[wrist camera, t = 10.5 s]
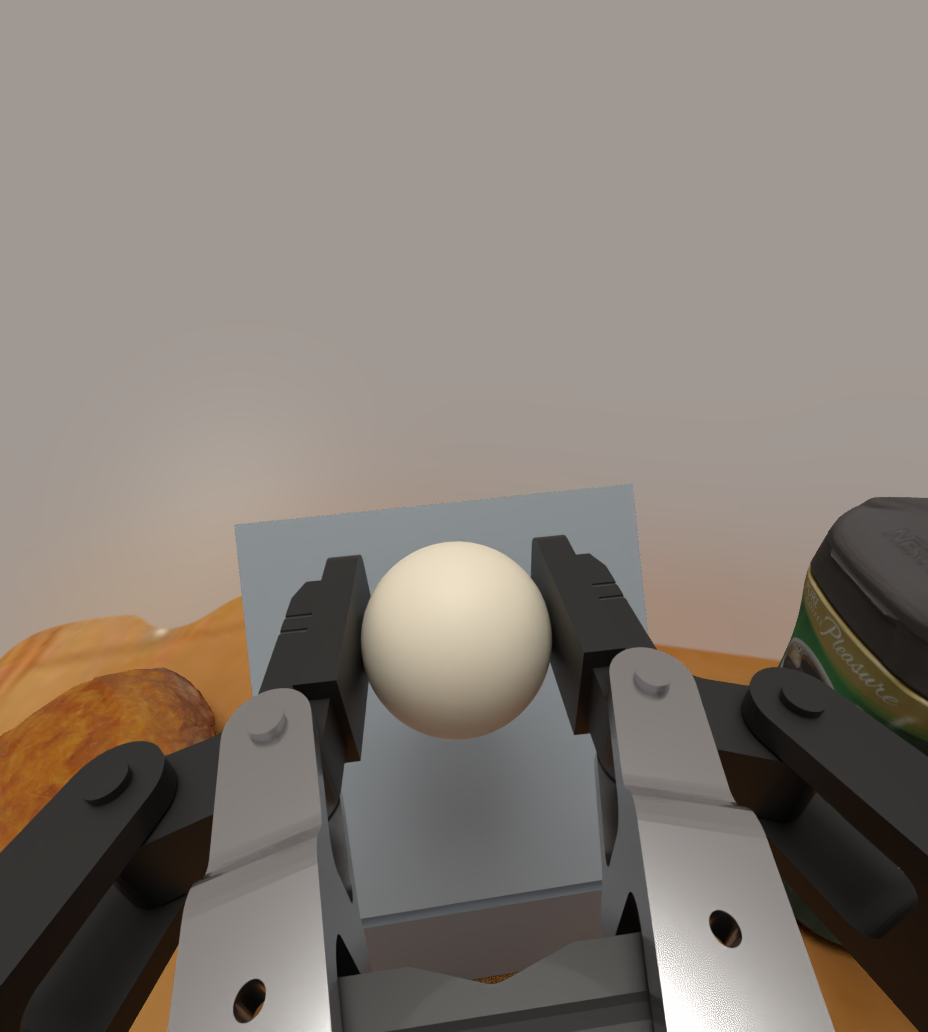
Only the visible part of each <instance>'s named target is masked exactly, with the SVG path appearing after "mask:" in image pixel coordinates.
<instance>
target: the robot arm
mask: <svg viewBox="0 0 928 1032" xmlns="http://www.w3.org/2000/svg"><path fill="white" fill-rule="evenodd" d="M531 579H532V580H533V581H534V583H535V584H536V586H537V587H538V589H539V591H540V592H541V595H542V597H543V599H544V601H545V603H546V607H547V610H548V613H549V617H550V622H551V628H552V652H551V658H550V664H551V667H552V670H553V673H554V676H555V679H556V682H557V685H558V688H559V691H560V694H561V697H562V700H563V703H564V706H565V709H566V712H567V716H568V719H569V722H570V725H571V728H572V731H573V734H574V735H581V734H589V733H590V735H591V738H592V741H593V743H594V746H595V749H596V752H595V758H594V771H595V785H596V798H597V811H598V825H599V838H600V852H601V865H602V898H601V925H602V938H598V939H591V940H584V941H578V942H573V943H571V944H569V945H567V946H565V947H564V948H562V949H560V950H558V951H556V952H555V953H553V954H551V955H549V956H547V957H546V958H544V959H542V960H540V961H538V962H537V963H535V964H533V965H531V966H529V967H528V968H526V969H524V970H522V971H520V972H519V973H517V974H515V975H513V976H512V977H510V978H508V979H506V980H504V981H502V982H500V983H496V984H487V983H482V982H477V981H472V980H468V979H463V978H459V977H454V976H449V975H445V974H440V973H435V972H431V971H426V970H422V969H417V968H412V967H405V968H398V969H391V970H385V971H378V972H372V969H371V963H370V958H369V952H368V947H367V942H366V938H365V933H364V929H363V926H362V921H361V917H360V912H359V906H358V900H357V893H356V886H355V878H354V871H353V864H352V857H351V850H350V843H349V836H348V829H347V822H346V814H345V807H344V800H343V795H342V792H341V787H342V779H343V772H344V764H345V763H350V762H358V761H361V753H362V743H363V733H364V723H365V714H366V704H367V694H368V684H369V680H368V678H367V675H366V672H365V669H364V665H363V659H362V653H361V628H362V622H363V618H364V613H365V610H366V608H367V605H368V602H369V600H370V597H371V595H370V590H369V585H368V581H367V576H366V571H365V566H364V562H363V558H362V556H361V555H350V556H340V557H330V558H328V559H327V561H326V564H325V568H324V571H323V575H322V579H321V580H318V581H309V582H305V583H304V585H303V586H302V587H301V588H300V589H299V590H298V591H297V592H296V593H295V595H294V596H293V597H292V598H291V601H290V604H289V606H288V609H287V612H286V615H285V617H286V618H285V619H284V621H283V624H282V627H281V630H280V635H278V638H277V641H276V644H275V647H274V650H273V653H272V655H271V658H270V661H269V664H268V667H267V670H266V673H265V676H264V679H263V681H262V684H261V687H260V690H259V693H258V695H256V696H254V697H252V698H251V699H249V700H248V701H246V702H245V703H244V704H242V705H241V706H240V707H239V708H238V709H237V710H236V711H235V712H234V713H233V714H232V716H231V717H230V718H229V720H228V721H227V723H226V725H225V727H224V729H223V732H221V733H219V734H218V735H215V736H213V737H211V738H209V739H206V740H204V741H201V742H199V743H196V744H194V745H191V746H189V747H186V748H184V749H181V750H179V751H176V752H174V753H171V754H169V755H166V756H165V755H164V754H163V752H162V751H161V749H160V748H159V747H158V746H157V745H155V744H154V743H151V742H147V741H133V742H129V743H125V744H122V745H119V746H116V747H114V748H112V749H109V750H107V751H106V752H104V753H102V754H100V755H99V756H97V757H96V758H94V759H93V760H91V761H90V762H89V763H87V764H86V765H85V766H84V767H82V768H81V769H80V770H79V771H78V772H77V773H76V774H75V775H74V776H73V777H72V778H71V779H70V780H69V781H68V782H67V783H66V784H65V785H64V786H63V787H62V788H61V789H60V791H59V792H58V793H57V794H56V795H55V796H54V797H53V798H52V799H51V800H50V801H49V802H48V803H47V804H46V805H45V806H44V807H43V808H42V809H41V811H40V812H39V813H38V814H37V815H36V816H35V817H34V818H33V819H32V820H31V821H30V822H29V823H28V824H27V825H26V826H25V827H24V828H23V829H22V831H21V832H20V833H19V834H18V835H17V836H16V837H15V838H14V839H13V840H12V841H11V842H10V843H9V844H8V845H7V846H6V847H5V848H4V849H3V850H2V852H1V853H0V1032H128V1031H129V1030H130V1028H131V1026H132V1024H133V1023H134V1021H135V1019H136V1017H137V1016H138V1014H139V1012H140V1010H141V1009H142V1007H143V1005H144V1003H145V1002H146V1000H147V998H148V997H149V995H150V993H151V991H152V990H153V988H154V986H155V984H156V983H157V981H158V979H159V977H160V976H161V974H162V972H163V970H164V969H165V967H166V965H167V963H168V962H169V960H170V958H171V957H172V955H173V953H174V951H175V950H176V948H177V946H178V944H179V946H178V954H177V962H176V969H175V977H174V985H173V993H172V1001H171V1008H170V1016H169V1024H168V1032H835V1030H834V1027H833V1024H832V1021H831V1018H830V1016H829V1013H828V1010H827V1007H826V1004H825V1002H824V999H823V996H822V993H821V990H820V987H819V985H818V982H817V979H816V976H815V973H814V970H813V968H812V965H811V962H810V959H809V956H808V953H807V951H806V948H805V945H804V942H803V939H802V936H801V934H800V931H799V928H798V925H797V922H796V919H795V917H794V914H793V911H792V908H791V905H790V903H789V900H788V897H787V894H786V891H785V888H784V886H783V883H782V880H781V877H780V875H781V876H782V878H783V879H784V880H785V881H786V882H787V883H788V884H789V885H790V887H791V888H792V889H793V890H794V891H795V892H796V893H797V894H798V896H799V897H800V898H801V899H802V900H803V901H804V902H805V903H806V905H807V906H808V907H809V908H810V909H811V910H812V911H813V912H814V914H815V915H816V916H817V917H818V918H819V919H820V920H821V921H822V923H823V924H824V925H825V926H826V927H827V928H828V929H829V930H830V932H831V933H832V934H833V935H834V936H835V937H836V938H837V939H838V941H839V942H840V943H841V944H842V945H843V946H844V947H845V948H846V950H847V951H848V952H849V953H850V954H851V955H852V956H853V958H854V959H855V960H856V961H857V962H858V963H859V964H860V965H861V967H862V968H863V969H864V970H865V971H866V972H867V973H868V974H869V976H870V977H871V978H872V979H873V980H874V981H875V982H876V983H877V985H878V986H879V987H880V988H881V989H882V990H883V991H884V992H885V994H886V995H887V996H888V997H889V998H890V999H891V1000H892V1001H893V1003H894V1004H895V1005H896V1006H897V1007H898V1008H899V1009H900V1010H901V1012H902V1013H903V1014H904V1015H905V1016H906V1017H907V1018H908V1019H909V1021H910V1022H911V1023H912V1024H913V1025H914V1026H915V1027H916V1029H917V1030H918V1031H919V1032H928V757H927V756H926V755H924V754H923V753H922V752H920V751H919V750H917V749H916V748H915V747H913V746H912V745H910V744H909V743H908V742H906V741H905V740H903V739H902V738H901V737H899V736H898V735H897V734H895V733H894V732H892V731H891V730H890V729H888V728H887V727H885V726H884V725H883V724H881V723H880V722H878V721H877V720H876V719H874V718H873V717H871V716H870V715H869V714H867V713H866V712H864V711H863V710H862V709H860V708H859V707H857V706H856V705H855V704H853V703H852V702H851V701H849V700H848V699H846V698H845V697H844V696H842V695H841V694H839V693H838V692H837V691H835V690H834V689H832V688H831V687H830V686H828V685H827V684H825V683H824V682H822V681H820V680H818V679H817V678H815V677H813V676H811V675H808V674H806V673H803V672H800V671H797V670H793V669H789V668H781V667H771V668H766V669H763V670H760V671H759V672H757V673H756V674H755V675H754V676H753V677H752V679H751V682H750V684H749V686H746V685H739V684H733V683H727V682H720V681H714V680H708V679H703V678H699V677H696V676H693V675H692V674H691V673H690V671H689V670H688V669H687V668H686V667H685V666H684V665H683V664H682V663H681V662H680V661H678V660H677V659H676V658H674V657H673V656H671V655H669V654H667V653H664V652H662V651H659V650H657V649H656V648H655V646H654V644H653V643H652V641H651V639H650V638H649V636H648V634H647V633H646V631H645V629H644V628H643V626H642V624H641V623H640V621H639V619H638V618H637V616H636V614H635V613H634V611H633V609H632V608H631V606H630V605H629V603H628V601H627V600H626V598H624V596H623V593H622V591H621V590H620V588H619V586H618V585H616V581H615V580H614V578H613V576H612V575H611V573H610V571H609V570H608V568H607V566H606V565H604V564H603V563H602V562H600V561H599V560H598V559H596V558H595V557H594V556H592V555H591V554H590V553H587V554H577V555H576V554H575V552H574V550H573V548H572V546H571V544H570V542H569V540H568V538H567V537H566V536H565V535H555V536H545V537H535V538H533V540H532V551H531ZM816 792H817V793H819V794H820V795H821V796H822V797H823V798H824V799H825V800H826V801H827V802H828V803H829V804H831V805H832V806H833V807H834V808H835V809H836V810H837V811H838V812H839V813H840V814H841V815H843V816H844V817H845V818H846V819H847V820H848V821H849V822H850V823H851V824H852V825H854V826H855V827H856V828H857V829H858V830H859V831H860V832H861V833H862V834H863V835H864V836H866V837H867V838H868V839H869V840H870V841H871V842H872V843H873V844H874V845H875V846H876V847H878V848H879V849H880V850H881V851H882V852H883V853H884V854H885V855H886V856H887V857H889V858H890V859H891V860H892V861H893V862H894V863H895V864H896V865H897V866H898V867H899V868H900V869H901V870H902V871H903V872H904V873H905V874H904V873H903V872H902V871H901V870H900V869H899V868H897V867H896V866H895V865H894V864H893V863H892V862H891V861H890V860H889V859H888V858H887V857H885V856H884V855H883V854H882V853H881V852H880V851H879V850H878V849H877V848H876V847H875V846H873V845H872V844H871V843H870V842H869V841H868V840H867V839H866V838H865V837H864V836H863V835H861V834H860V833H859V832H858V831H857V830H856V829H855V828H854V827H853V826H852V825H851V824H849V823H848V822H847V821H846V820H845V819H844V818H843V817H842V816H841V815H840V814H839V813H837V812H836V811H835V810H834V809H833V808H832V807H831V806H830V805H829V804H828V803H827V802H825V801H824V800H823V799H822V798H821V797H820V796H819V795H818V794H817V793H816Z"/></svg>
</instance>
